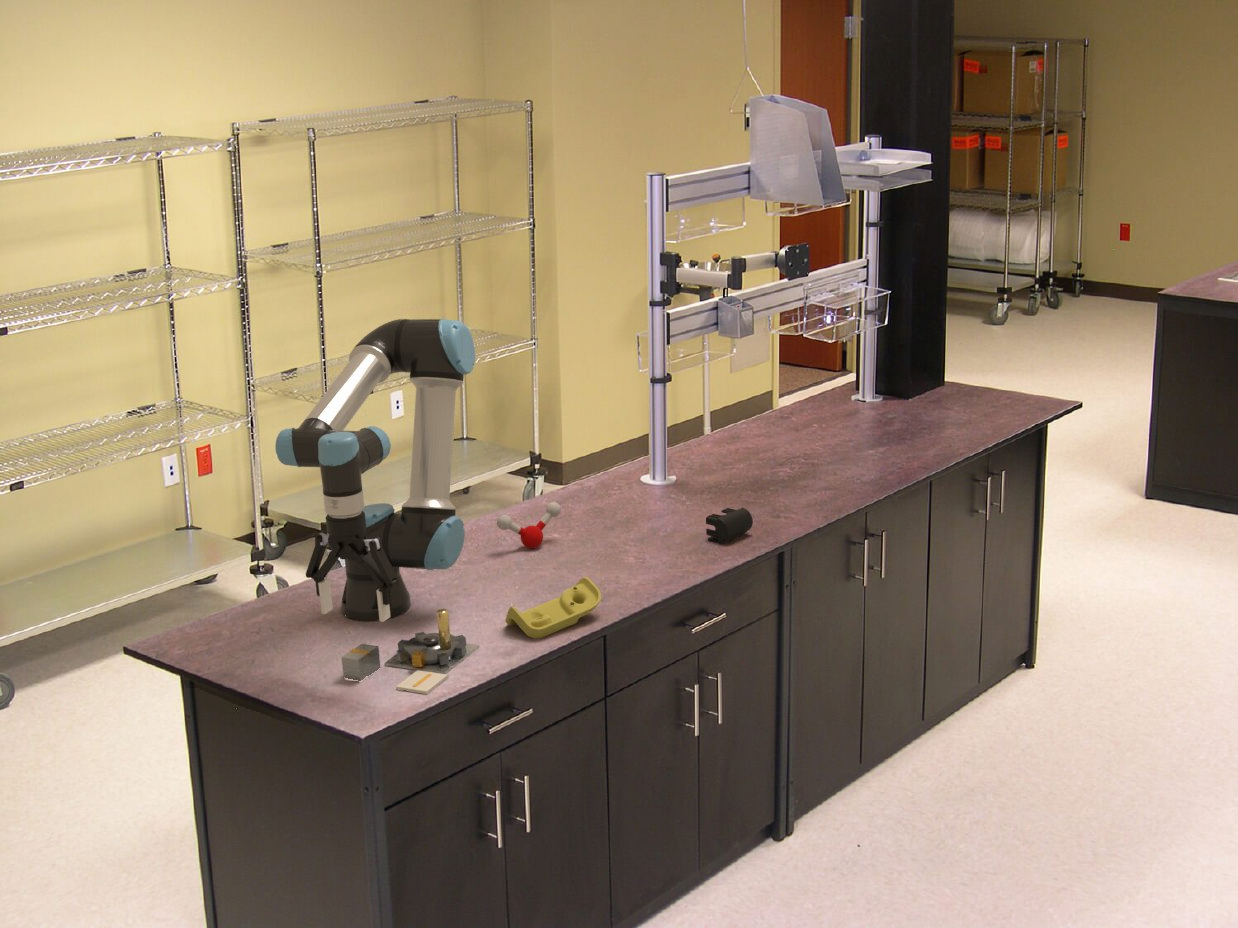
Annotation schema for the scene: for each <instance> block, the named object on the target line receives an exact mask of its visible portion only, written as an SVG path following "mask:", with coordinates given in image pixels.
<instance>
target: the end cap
mask: <svg viewBox="0 0 1238 928" xmlns="http://www.w3.org/2000/svg"><path fill="white" fill-rule="evenodd" d="M720 513H722V514H716V513H712V514H709V515H707V516H706V518H705V524H706V525H709V526H712V527H714V528H715V530H714V529H710V528H706V529H705V532H706V535H707V536H709V537H707V541H708V542H712V543H716V544H719V545H721V544H723V543H727V542H728V541H731V540H733V539H735V538H737V537H740V536H743V535H745V534H746V533H747V532H748V531H750V530H751V529H752V527H753V524H754V523H753V521H754V519H753V517H752V514H751V512H750V511H749V510H748V509H747V508H745V507H741V508H738V509H734V508H730V507H727V508H724V509H721V511H720Z"/></svg>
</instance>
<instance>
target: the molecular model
mask: <svg viewBox="0 0 1238 928" xmlns="http://www.w3.org/2000/svg"><path fill="white" fill-rule="evenodd" d="M545 507H546V508H545V511H546V512H545V514H544V515H543V516H542V518H541V519H540V520H539V521H538V523H536V525H528V526H526V527H522V526H520V525H518V524H517V523H515V522H513V520H512V518H511V517H510V516H509V515H508V514H501V515H499V517H498V518H497V520H496V525H497V527H498V529H500V530H502V531H507V530H509V531H511V532H514V533H516V534H518V535H519V536H520V541H521V543H522V544H523V546H524V547H525V548H527V549H535V548H538V547H540V546H541V545H542V543H543V541H544V534H543V530H544V528H545V527H546V525H548V523H549V522H550V521H551V519H552V518H555V517H557V516H559V515H560V514H561V511H562V507H561V505H560V504H559V503H558V502H556V501H552V502H550V503H548V504H547V506H545Z"/></svg>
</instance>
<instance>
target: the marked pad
mask: <svg viewBox="0 0 1238 928" xmlns="http://www.w3.org/2000/svg"><path fill="white" fill-rule="evenodd" d="M447 679H449V674H448V673H446V674H440V673H433V672H427V671H420V670H415V672H413V673H412V674H411V675H409V676H408V677H407V678H405V679H404V680H402V682H400V683H399V684H397V685H396V686H395V690H397V689H398V690H399V691H403V690H406V691H405V692H411V693H417V694H424V695H428V694H430V693H431V692H432V691H433V690H434V689H436V688H437V687H439V686H440V685H441V684H442V683H443V682H445V681H446V680H447ZM398 690H397V691H398Z"/></svg>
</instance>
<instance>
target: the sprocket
mask: <svg viewBox="0 0 1238 928" xmlns="http://www.w3.org/2000/svg"><path fill="white" fill-rule="evenodd" d="M436 617H437V630H438V632H431V633H426V632H424V631H421V632H417V633H415V634H414V635H415V636H413V637H411V638H410V639H407V640H406V639H401V640H399V641H398V642H397V647H398V649H397V650H396V655H397V657H398V660H399V661H400V662H402V661H406V660H409V661H411V662H412V664H413V666H416V667H422V666H424V665H425V664H433V663H439V664H440V665H444V664H448V663H449V659H452V658H453V657H455V656H460V657H463V656H464V655H465V654H466V643H467V639H466V638H467V637H466V636H464V635H463V634H460V635H456V636H455V635H453V634H451V631H450V621H449V620H450V619H449V610H448V609H445V608H443V609H442V608H441V609H439V610H436Z"/></svg>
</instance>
